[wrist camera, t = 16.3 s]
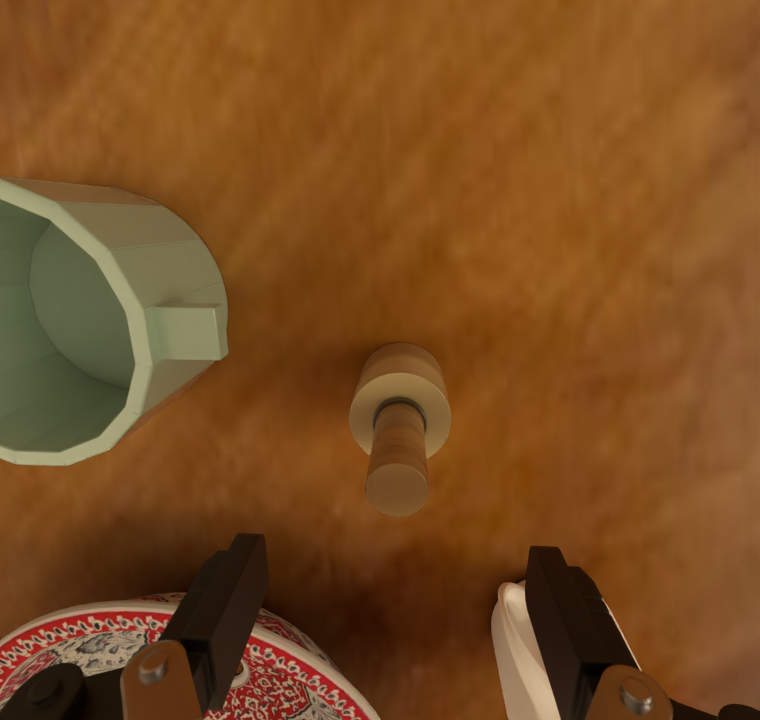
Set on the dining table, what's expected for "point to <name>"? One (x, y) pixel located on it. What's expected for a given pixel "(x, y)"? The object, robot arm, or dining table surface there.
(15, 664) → the ceramic bowl
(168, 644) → the robot arm
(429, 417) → the rubber stamp
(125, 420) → the pot
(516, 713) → the mug
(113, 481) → the dining table surface
